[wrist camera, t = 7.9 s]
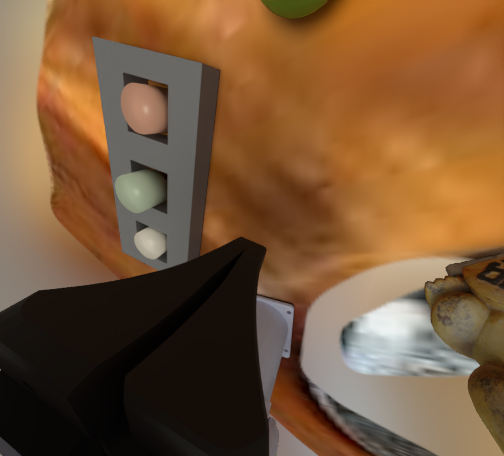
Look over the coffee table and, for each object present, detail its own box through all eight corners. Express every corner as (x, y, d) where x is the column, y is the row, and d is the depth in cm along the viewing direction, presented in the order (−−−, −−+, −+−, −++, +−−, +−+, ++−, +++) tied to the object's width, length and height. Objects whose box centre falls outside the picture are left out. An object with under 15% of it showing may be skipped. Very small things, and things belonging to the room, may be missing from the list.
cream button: (176, 250, 27) (159, 263, 25) (153, 239, 28) (135, 251, 26) (177, 227, 25) (159, 239, 23) (153, 216, 26) (133, 227, 24)
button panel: (197, 271, 28) (185, 283, 26) (137, 242, 30) (122, 251, 28) (220, 70, 16) (202, 63, 14) (120, 45, 18) (92, 36, 16)
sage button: (168, 207, 22) (146, 218, 20) (141, 195, 23) (117, 205, 21) (169, 174, 20) (144, 183, 18) (139, 163, 21) (112, 169, 19)
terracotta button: (180, 136, 20) (157, 139, 17) (149, 126, 21) (123, 127, 18) (182, 92, 18) (156, 88, 16) (148, 83, 19) (118, 77, 16)
